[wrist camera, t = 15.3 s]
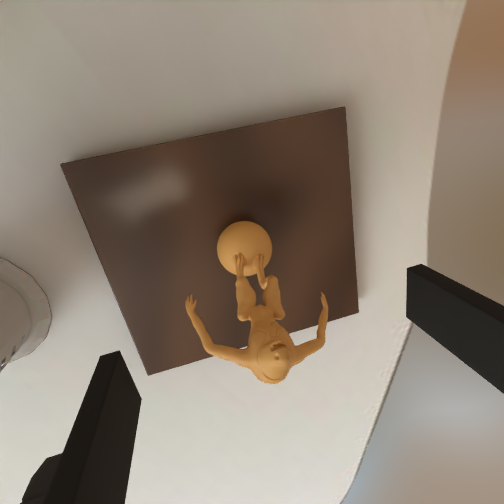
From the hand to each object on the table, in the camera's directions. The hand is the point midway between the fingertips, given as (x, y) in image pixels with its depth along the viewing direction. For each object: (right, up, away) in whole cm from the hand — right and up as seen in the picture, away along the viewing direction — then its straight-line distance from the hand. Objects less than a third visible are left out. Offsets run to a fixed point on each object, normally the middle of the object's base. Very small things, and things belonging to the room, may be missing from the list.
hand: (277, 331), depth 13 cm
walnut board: (-3, +4, +12) cm, 13 cm away
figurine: (-2, +4, +11) cm, 11 cm away
